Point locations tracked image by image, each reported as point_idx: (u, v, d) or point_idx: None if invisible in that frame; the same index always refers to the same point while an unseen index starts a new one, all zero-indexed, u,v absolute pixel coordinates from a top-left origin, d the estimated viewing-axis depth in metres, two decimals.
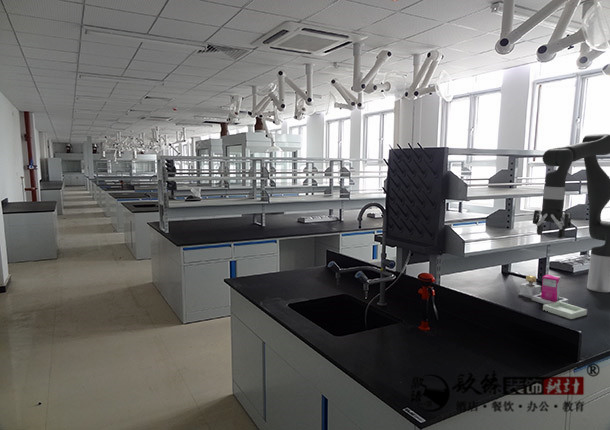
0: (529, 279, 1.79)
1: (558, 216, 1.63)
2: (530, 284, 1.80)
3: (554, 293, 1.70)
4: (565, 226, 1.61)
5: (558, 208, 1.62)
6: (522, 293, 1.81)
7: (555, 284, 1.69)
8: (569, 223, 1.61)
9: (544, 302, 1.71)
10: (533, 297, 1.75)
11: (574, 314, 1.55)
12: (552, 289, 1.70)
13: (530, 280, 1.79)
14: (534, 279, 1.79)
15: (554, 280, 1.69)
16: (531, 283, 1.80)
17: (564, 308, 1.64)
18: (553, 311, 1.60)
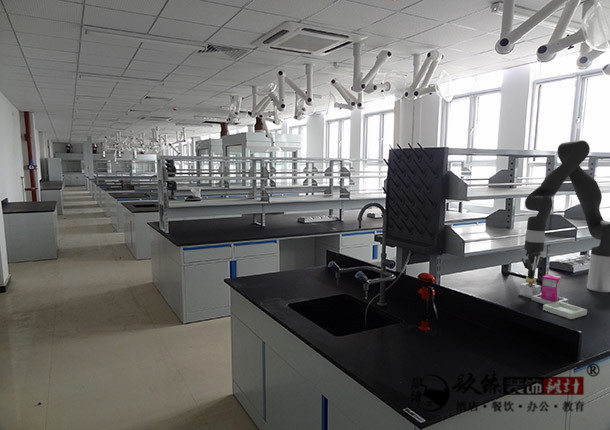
0: (529, 280, 1.80)
1: (539, 256, 1.80)
2: (530, 285, 1.81)
3: (554, 293, 1.70)
4: (538, 266, 1.80)
5: None
6: (522, 293, 1.81)
7: (555, 284, 1.69)
8: None
9: (544, 302, 1.71)
10: (533, 297, 1.75)
11: (574, 314, 1.55)
12: (552, 289, 1.70)
13: (530, 281, 1.79)
14: (534, 280, 1.79)
15: (554, 280, 1.69)
16: (531, 284, 1.80)
17: (564, 308, 1.64)
18: (553, 311, 1.60)
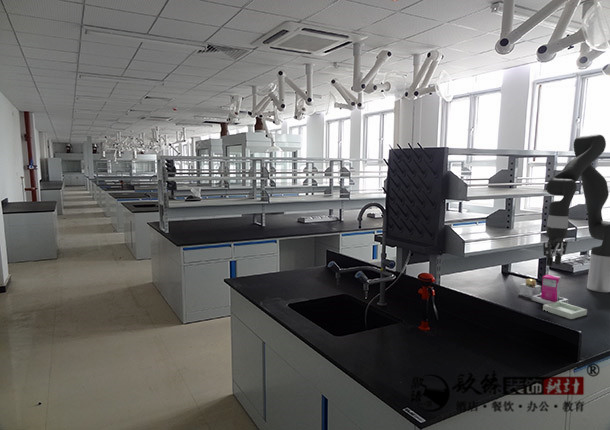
0: (529, 283, 1.80)
1: (562, 243, 1.71)
2: None
3: (554, 293, 1.70)
4: (564, 252, 1.73)
5: None
6: (522, 293, 1.81)
7: (555, 284, 1.69)
8: None
9: (544, 302, 1.71)
10: (533, 297, 1.75)
11: (574, 314, 1.55)
12: (552, 289, 1.70)
13: (530, 284, 1.79)
14: (534, 283, 1.79)
15: (554, 280, 1.69)
16: None
17: (564, 308, 1.64)
18: (553, 311, 1.60)
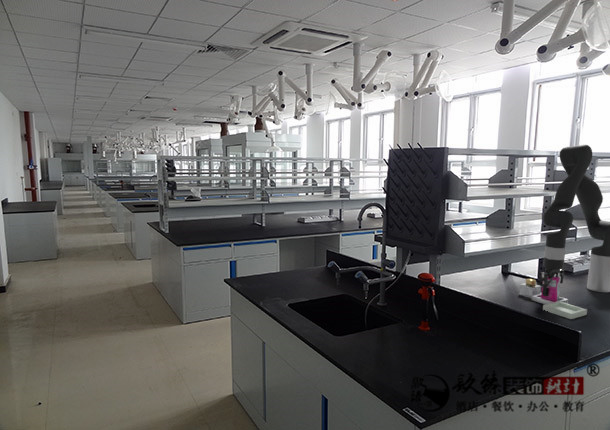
0: (529, 283, 1.80)
1: None
2: None
3: (554, 293, 1.70)
4: (562, 282, 1.75)
5: None
6: (522, 293, 1.81)
7: (555, 284, 1.69)
8: None
9: (544, 302, 1.71)
10: (533, 297, 1.75)
11: (574, 314, 1.55)
12: (552, 289, 1.70)
13: (530, 284, 1.79)
14: (534, 283, 1.79)
15: (554, 280, 1.69)
16: None
17: (564, 308, 1.64)
18: (553, 311, 1.60)
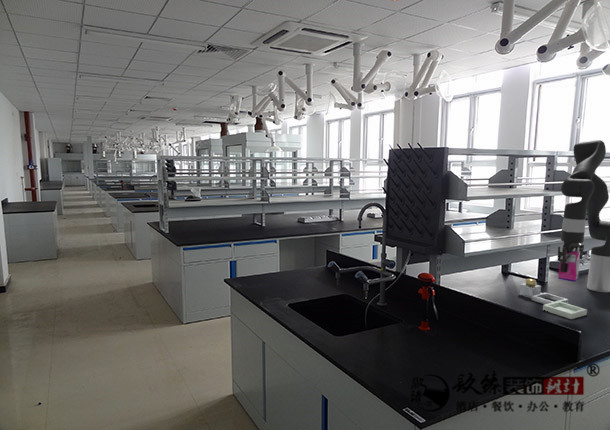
0: (529, 283, 1.80)
1: None
2: None
3: (573, 269, 1.56)
4: (581, 257, 1.61)
5: None
6: (522, 293, 1.81)
7: (574, 259, 1.56)
8: None
9: (544, 302, 1.71)
10: (533, 297, 1.75)
11: (574, 314, 1.55)
12: (571, 265, 1.56)
13: (530, 284, 1.79)
14: (534, 283, 1.79)
15: (573, 254, 1.56)
16: None
17: (564, 308, 1.64)
18: (553, 311, 1.60)
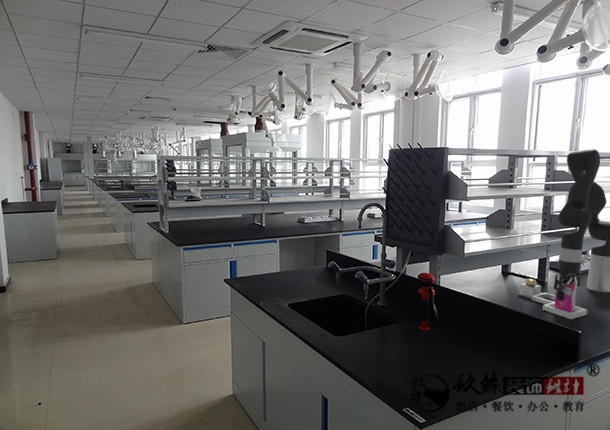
0: (529, 283, 1.80)
1: (575, 276, 1.61)
2: None
3: (569, 301, 1.58)
4: (579, 284, 1.62)
5: None
6: (522, 293, 1.81)
7: (570, 292, 1.57)
8: None
9: (544, 302, 1.71)
10: (533, 297, 1.75)
11: (574, 314, 1.55)
12: (567, 297, 1.58)
13: (530, 284, 1.79)
14: (534, 283, 1.79)
15: (569, 287, 1.57)
16: None
17: None
18: (553, 311, 1.60)
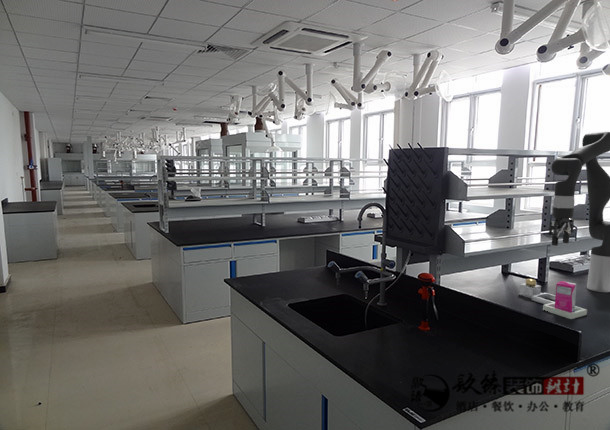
0: (529, 283, 1.80)
1: (568, 223, 1.70)
2: None
3: (569, 301, 1.58)
4: (572, 230, 1.72)
5: None
6: (522, 293, 1.81)
7: (570, 292, 1.57)
8: None
9: (544, 302, 1.71)
10: (533, 297, 1.75)
11: (574, 314, 1.55)
12: (567, 297, 1.58)
13: (530, 284, 1.79)
14: (534, 283, 1.79)
15: (569, 287, 1.57)
16: None
17: None
18: (553, 311, 1.60)
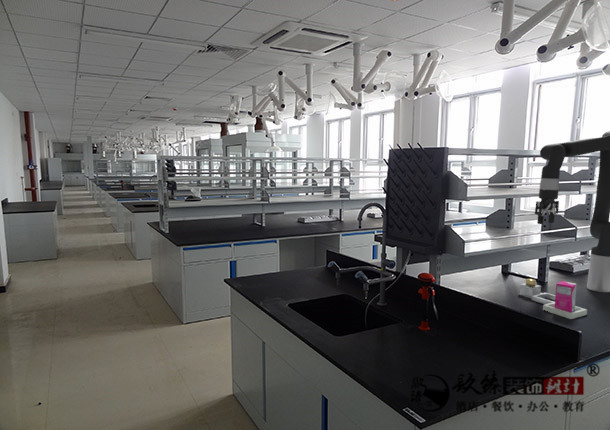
0: (529, 283, 1.80)
1: (553, 204, 1.85)
2: None
3: (569, 301, 1.58)
4: (557, 211, 1.87)
5: None
6: (522, 293, 1.81)
7: (570, 292, 1.57)
8: None
9: (544, 302, 1.71)
10: (533, 297, 1.75)
11: (574, 314, 1.55)
12: (567, 297, 1.58)
13: (530, 284, 1.79)
14: (534, 283, 1.79)
15: (569, 287, 1.57)
16: None
17: None
18: (553, 311, 1.60)
